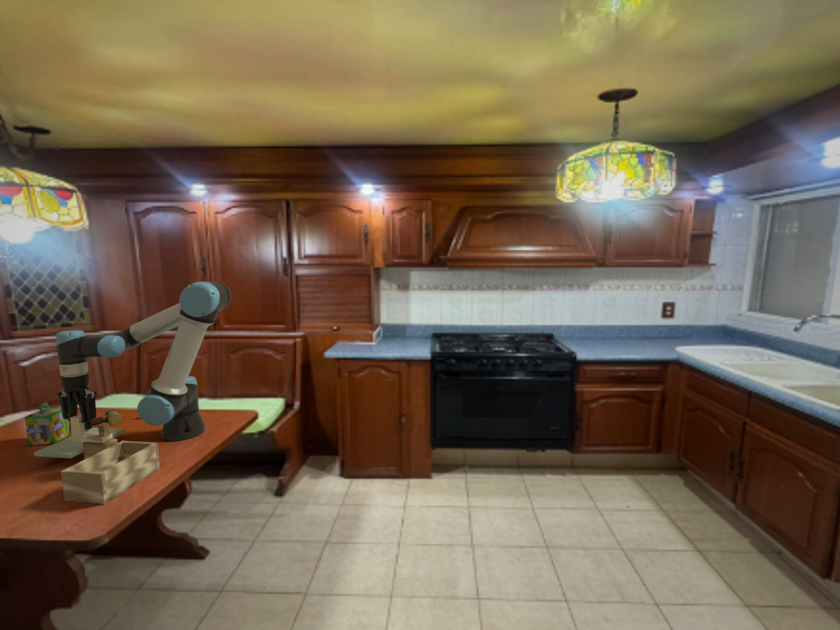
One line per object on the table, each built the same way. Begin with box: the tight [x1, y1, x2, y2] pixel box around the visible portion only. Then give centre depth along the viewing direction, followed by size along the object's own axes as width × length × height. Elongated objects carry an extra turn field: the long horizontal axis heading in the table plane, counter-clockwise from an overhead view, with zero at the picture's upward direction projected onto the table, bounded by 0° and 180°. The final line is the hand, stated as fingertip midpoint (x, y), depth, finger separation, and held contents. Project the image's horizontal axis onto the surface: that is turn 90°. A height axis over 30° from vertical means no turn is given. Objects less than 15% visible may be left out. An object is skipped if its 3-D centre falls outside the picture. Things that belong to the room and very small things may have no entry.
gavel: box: [69, 408, 123, 432], centre depth 169 cm, size 21×5×10 cm
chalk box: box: [23, 401, 71, 447], centre depth 154 cm, size 9×9×15 cm
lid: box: [33, 413, 126, 459], centre depth 143 cm, size 21×14×11 cm, turn 172°
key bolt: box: [81, 422, 114, 443], centre depth 130 cm, size 4×8×6 cm, turn 82°
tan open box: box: [60, 438, 161, 505], centre depth 123 cm, size 20×22×10 cm
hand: (82, 437), depth 143 cm, fingers closed on lid, 4 cm apart
